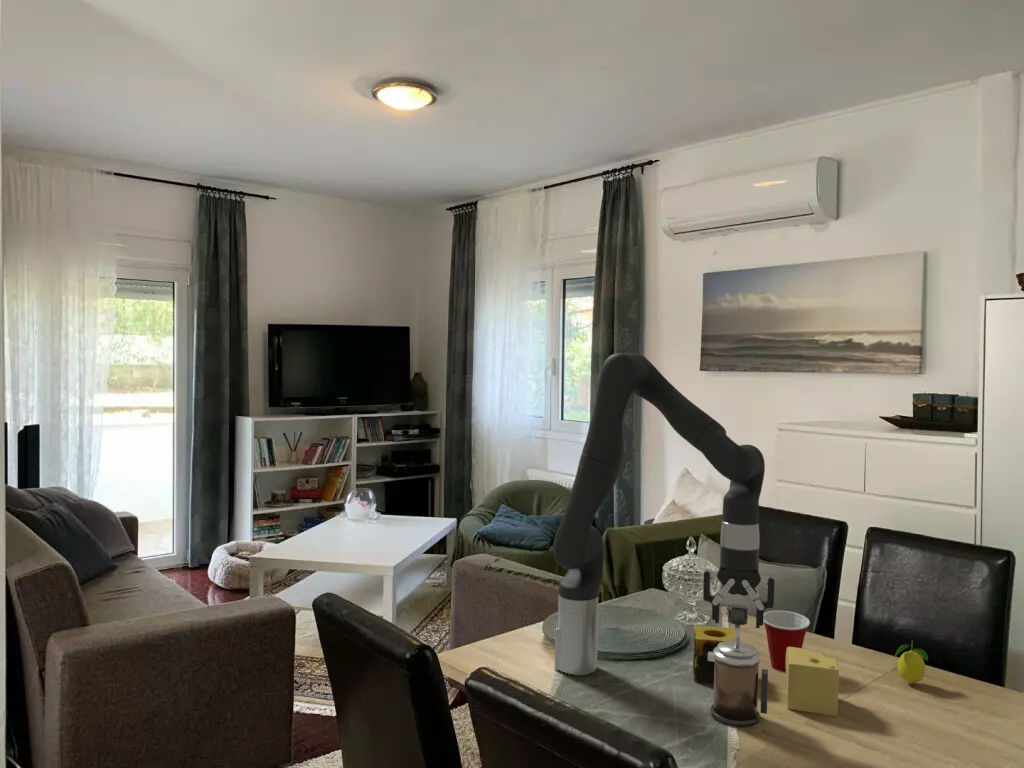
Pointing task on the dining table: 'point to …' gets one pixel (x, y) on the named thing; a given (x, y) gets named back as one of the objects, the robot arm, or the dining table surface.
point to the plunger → (737, 634)
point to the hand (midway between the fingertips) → (737, 624)
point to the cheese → (811, 681)
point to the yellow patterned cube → (708, 650)
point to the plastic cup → (784, 634)
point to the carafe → (737, 689)
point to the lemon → (911, 664)
